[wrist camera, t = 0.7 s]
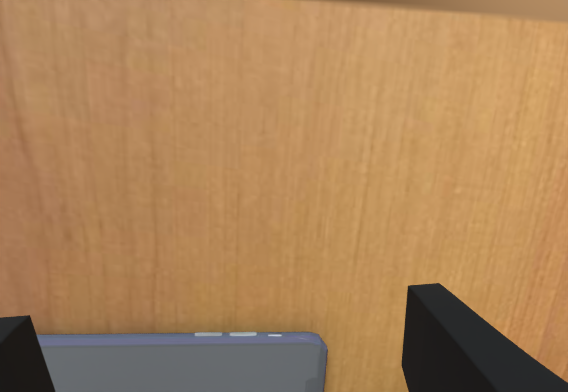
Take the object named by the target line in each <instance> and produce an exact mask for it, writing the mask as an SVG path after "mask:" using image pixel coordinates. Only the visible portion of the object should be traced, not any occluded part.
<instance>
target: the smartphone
mask: <svg viewBox="0 0 568 392" xmlns="http://www.w3.org/2000/svg"><path fill="white" fill-rule="evenodd" d="M37 338H38V341H39V344H40V347H41V350H42V353H43V356H44V359H45V362H46V365H47V368H48V371H49V374H50V376H51V379H52V382H53V385H54V388H55V391H56V392H324V383H325V373H326V362H327V352H328V349H327V346H326V344H325V343H324V342H323V340H322V339H321V338H320V336H319V334H315V333H311V332H230V333H221V332H196V333H151V334H55V335H37Z"/></svg>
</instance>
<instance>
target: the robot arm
mask: <svg viewBox="0 0 568 392" xmlns="http://www.w3.org/2000/svg"><path fill="white" fill-rule="evenodd" d="M402 368H403V372H404V376H405V379H406V383H407V387H408V390H409V392H568V383H567V382H566V381H564V380H563V379H561V378H560V377H558V376H557V375H556V374H554V373H553V372H551V371H550V370H549V369H547V368H546V367H545V366H543V365H542V364H540V363H539V362H538V361H536V360H535V359H534V358H532V357H531V356H530V355H528V354H527V353H526V352H524V351H523V350H522V349H520V348H519V347H518V346H517V345H515V344H514V343H513V342H511V341H510V340H509V339H508V338H506V337H505V336H504V335H503V334H501V333H500V332H499V331H498V330H496V329H495V328H494V327H492V326H491V325H490V324H489V323H488V322H486V321H485V320H484V319H483V318H481V317H480V316H479V315H478V314H476V313H475V312H474V311H473V310H472V309H470V308H469V307H468V306H467V305H465V304H464V303H463V302H462V301H461V300H459V299H458V298H457V297H456V296H455V295H453V294H452V293H451V292H450V291H448V290H447V289H446V288H445V287H443V286H442V285H441V284H439V283H436V284H423V285H410V286H408V292H407V305H406V317H405V329H404V342H403V354H402ZM0 392H56V391H55V388H54V385H53V382H52V379H51V376H50V374H49V371H48V368H47V365H46V362H45V359H44V356H43V353H42V350H41V347H40V344H39V341H38V338H37V335H36V332H35V329H34V326H33V323H32V321H31V318H30V315H29V316H16V317H3V318H0Z"/></svg>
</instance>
